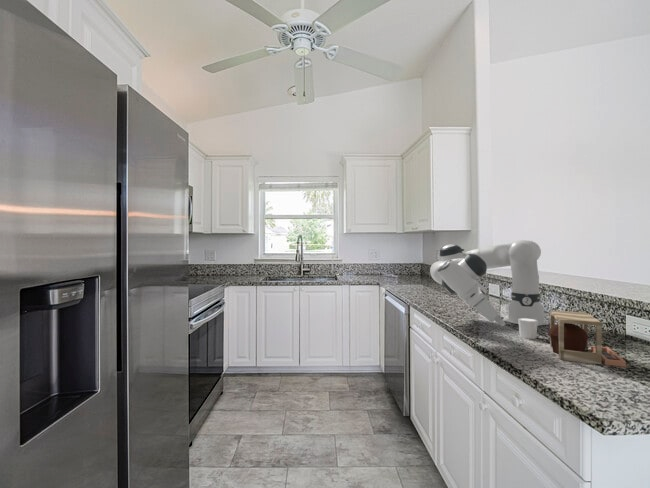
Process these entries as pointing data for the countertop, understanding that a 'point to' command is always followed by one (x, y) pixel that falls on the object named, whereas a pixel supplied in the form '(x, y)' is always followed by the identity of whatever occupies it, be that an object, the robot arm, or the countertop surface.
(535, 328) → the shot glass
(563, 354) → the tunnel
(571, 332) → the muffin
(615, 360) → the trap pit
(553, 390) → the countertop surface
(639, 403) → the countertop surface
